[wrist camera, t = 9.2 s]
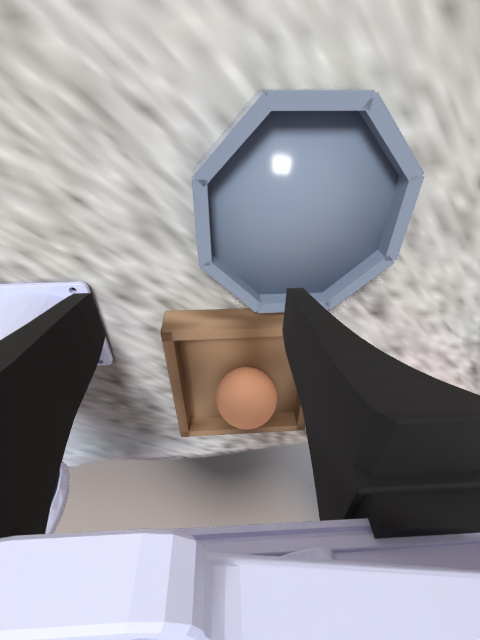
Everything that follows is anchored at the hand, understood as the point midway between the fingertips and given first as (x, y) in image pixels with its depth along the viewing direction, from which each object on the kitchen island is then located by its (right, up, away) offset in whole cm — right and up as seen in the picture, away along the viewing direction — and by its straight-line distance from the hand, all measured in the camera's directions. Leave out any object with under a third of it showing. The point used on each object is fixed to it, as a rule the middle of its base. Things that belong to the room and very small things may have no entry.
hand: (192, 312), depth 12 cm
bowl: (+5, +7, +8) cm, 12 cm away
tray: (+2, -5, +17) cm, 17 cm away
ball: (+2, -7, +14) cm, 16 cm away
